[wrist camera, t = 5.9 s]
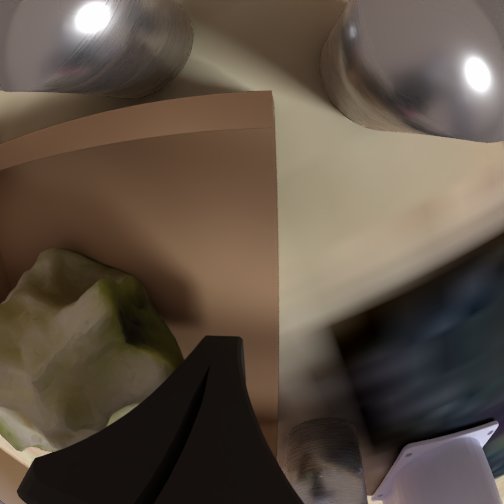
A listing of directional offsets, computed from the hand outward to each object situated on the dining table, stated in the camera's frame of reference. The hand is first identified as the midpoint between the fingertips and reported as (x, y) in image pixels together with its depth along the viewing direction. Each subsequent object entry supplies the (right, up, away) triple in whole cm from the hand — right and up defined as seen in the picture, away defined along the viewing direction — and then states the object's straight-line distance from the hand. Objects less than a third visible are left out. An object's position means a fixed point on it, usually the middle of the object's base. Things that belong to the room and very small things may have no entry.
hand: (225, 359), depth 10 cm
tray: (-5, +1, +2) cm, 5 cm away
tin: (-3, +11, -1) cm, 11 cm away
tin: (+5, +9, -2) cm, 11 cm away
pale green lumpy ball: (-6, 0, +3) cm, 6 cm away
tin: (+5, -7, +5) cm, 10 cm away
